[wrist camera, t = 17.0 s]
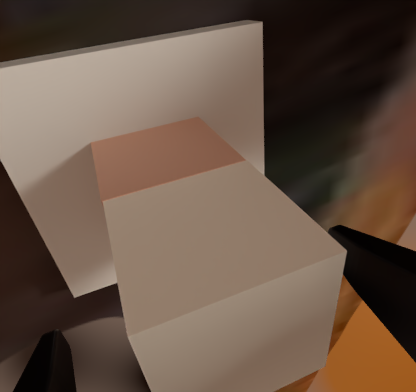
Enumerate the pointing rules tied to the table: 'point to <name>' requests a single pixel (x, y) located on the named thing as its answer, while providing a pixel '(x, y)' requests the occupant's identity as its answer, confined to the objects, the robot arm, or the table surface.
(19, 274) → the table surface
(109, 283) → the baseplate
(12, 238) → the table surface
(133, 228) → the cream block
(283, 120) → the table surface
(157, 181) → the terracotta block
